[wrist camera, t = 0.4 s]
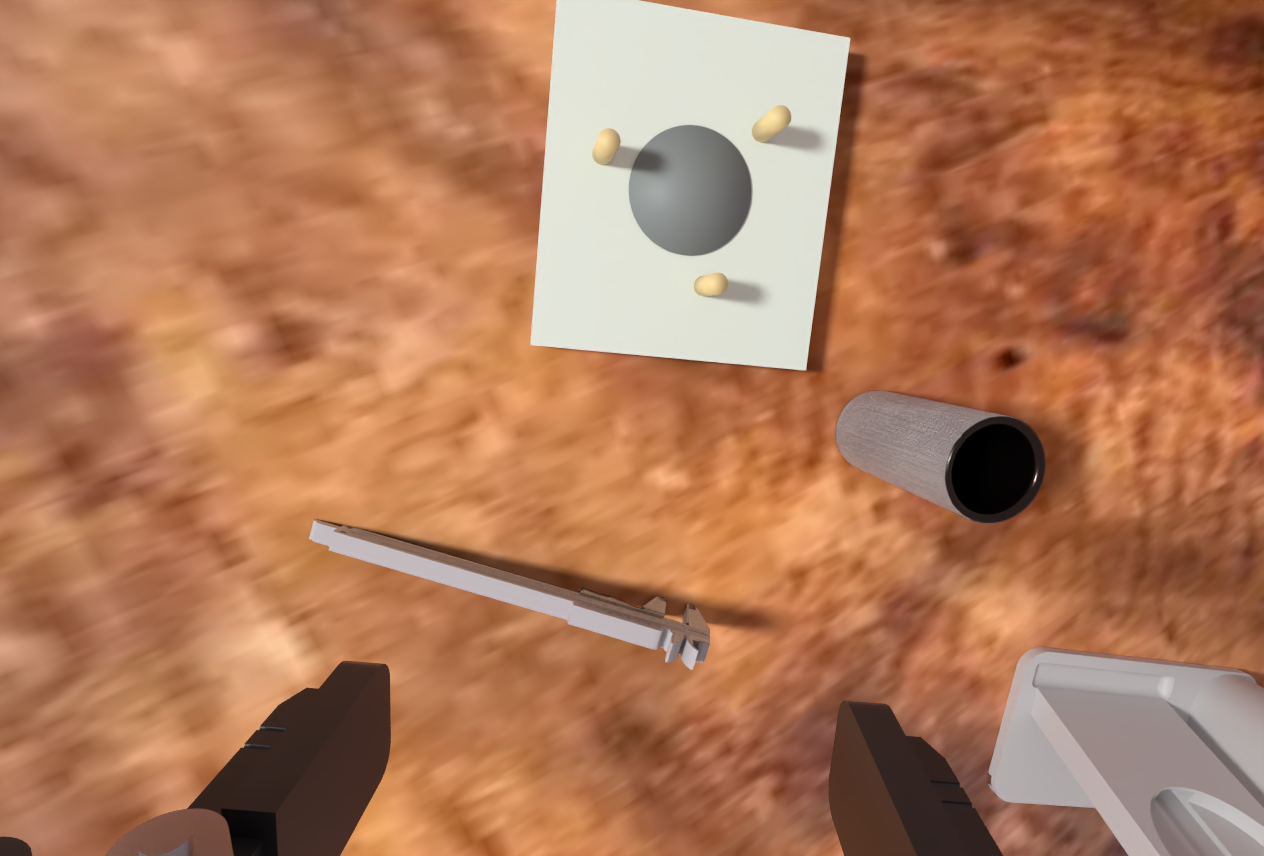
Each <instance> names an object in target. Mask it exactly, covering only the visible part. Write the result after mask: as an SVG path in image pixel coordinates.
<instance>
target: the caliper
mask: <svg viewBox="0 0 1264 856" xmlns="http://www.w3.org/2000/svg"><path fill="white" fill-rule="evenodd" d="M309 539H311V540H312V541H313V542H317V543H320V544H323V545H327V546H329V550H330V551H333V552H337V553H340V554H343V555H347V556H350V557H354V558H357V559H360V560H364V561H367V562H370V563H374V564H377V565H381V566H384V567H387V568H391V569H394V570H398V571H401V572H404V573H408V574H411V575H415V576H418V577H422V578H425V579H428V580H432V581H435V582H439V583H442V584H446V585H449V586H452V587H456V588H459V589H463V590H466V591H469V592H473V593H476V594H480V595H483V596H487V597H490V598H493V599H497V600H500V601H504V602H507V603H511V604H514V605H517V606H521V607H524V608H528V609H531V610H535V611H538V612H541V613H545V614H548V615H552V616H555V617H559V618H562V619H565V620H568V621H567V622H568V624H570V625H573V626H577V627H580V628H583V629H587V630H590V631H593V632H597V633H600V634H604V635H607V636H610V637H614V638H617V639H620V640H624V641H627V642H630V643H634V644H637V645H640V646H644V647H647V648H650V649H654V650H657V649H658V647H661V648H664V650H665V651H666V652H667V653H666V657H665V662H667V663H669V662H671V661H673V660H675V659H676V658H677V657H678V654H681V659H682V661H683V662H684V664H685V665H686V666H687V667H688V668H689V669H691V670H693V667H694V664H695V661H698V662H701V663H704V660H705V657H706V654H707V651H708V648H709V644H710V629H709V627H708V625H707V624H706V622H705V620H704V618H703V617H702V615H701V613H700V612H699V610H698V609H697V607H695V606H693V605H691V604H688V603H687V606H686V609H685V613H684V616H683V619H682V623H680V622H677V621H674V620H670V619H667V618H664V615H665V610H666V602H665V598H662V597H658V596H656V597H655V598H653V599H652V600H651V601H649V602H648V603H647V604H646V605H644V606H643V607H642V608H639V607H635V606H632V605H628V604H627V603H625V602H623V601H621V600H618V599H616V598H613V597H611V596H608V595H603V594H598V593H595V592H593V591H590V590H588V589H585V588H580V589H579V591H578V592H575V591H572V590H568V589H565V588H562V587H558V586H555V585H551V584H548V583H544V582H541V581H538V580H534V579H531V578H527V577H524V576H520V575H517V574H514V573H510V572H507V571H503V570H500V569H496V568H493V567H490V566H486V565H483V564H479V563H476V562H472V561H469V560H466V559H462V558H459V557H456V556H452V555H449V554H445V553H442V552H439V551H435V550H432V549H428V548H425V547H422V546H418V545H415V544H412V543H408V542H405V541H401V540H398V539H395V538H391V537H388V536H384V535H381V534H378V533H374V532H370V531H366V530H361V529H357V528H353V527H348V526H344V525H343V526H337V525H334V524H331V523H328V522H324V521H320V520H315V519H314V521H313V525H312V529H311V533H310V537H309Z"/></svg>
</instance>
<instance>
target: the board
mask: <svg viewBox="0 0 1264 856" xmlns="http://www.w3.org/2000/svg"><path fill="white" fill-rule="evenodd" d="M849 44H850V38H848V37H842V36H836V35H831V34H825V33H819V32H814V31H808V30H802V29H797V28H791V27H785V26H780V25H774V24H769V23H763V22H757V21H752V20H746V19H740V18H735V17H729V16H723V15H718V14H712V13H707V12H701V11H695V10H690V9H684V8H678V7H673V6H667V5H661V4H656V3H650V2H644V1H639V0H557V3H556V16H555V29H554V42H553V55H552V68H551V81H550V94H549V107H548V120H547V134H546V147H545V160H544V173H543V186H542V199H541V212H540V225H539V238H538V251H537V265H536V278H535V291H534V304H533V317H532V330H531V343H530V344H531V345H536V346H546V347H557V348H568V349H579V350H590V351H600V352H611V353H622V354H633V355H644V356H654V357H665V358H676V359H687V360H698V361H709V362H719V363H730V364H741V365H752V366H763V367H773V368H784V369H795V370H806V366H807V359H808V351H809V344H810V336H811V329H812V321H813V314H814V306H815V299H816V291H817V284H818V276H819V269H820V261H821V254H822V246H823V239H824V231H825V224H826V216H827V209H828V201H829V194H830V186H831V179H832V172H833V164H834V157H835V149H836V142H837V134H838V127H839V119H840V112H841V104H842V97H843V89H844V82H845V74H846V67H847V59H848V52H849Z"/></svg>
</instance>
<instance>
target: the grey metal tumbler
mask: <svg viewBox="0 0 1264 856" xmlns="http://www.w3.org/2000/svg"><path fill="white" fill-rule="evenodd" d="M836 441H837V445H838V448H839V451H840V453H841V454H842V456H843V457H844V458H845V460H846V461H847V462H849V463H850V464H851V465H853V466H854V467H856V468H858V469H859V470H862V471H864V472H866V473H868V474H870V475H873V476H875V477H877V478H879V479H881V480H883V481H886V482H888V483H890V484H892V485H894V486H897V487H899V488H901V489H903V490H905V491H908V492H910V493H912V494H914V495H916V496H919V497H921V498H923V499H925V500H927V501H930V502H932V503H934V504H936V505H938V506H940V507H943V508H945V509H947V510H949V511H951V512H954V513H956V514H958V515H960V516H962V517H965V518H967V519H969V520H972V521H974V522H978V523H985V524H992V523H999V522H1003V521H1006V520H1008V519H1011V518H1013V517H1014V516H1016V515H1018V514H1019V513H1021V512H1022V511H1023V510H1024V509H1025V508H1026V507H1027V506H1028V505H1029V504H1030V503H1031V502H1032V501H1033V499H1034V498H1035V496H1036V495H1037V493H1038V491H1039V489H1040V487H1041V485H1042V482H1043V479H1044V474H1045V453H1044V449H1043V445H1042V443H1041V441H1040V439H1039V437H1038V435H1037V434H1036V433H1035V431H1034V430H1033V429H1032V428H1031V427H1030V426H1029V425H1027V424H1026V423H1025V422H1023V421H1021V420H1019V419H1017V418H1014V417H1011V416H1006V415H1001V414H997V413H992V412H987V411H982V410H977V409H972V408H967V407H962V406H957V405H953V404H948V403H943V402H938V401H933V400H928V399H923V398H918V397H913V396H909V395H904V394H899V393H894V392H889V391H880V390H874V391H868V392H865V393H862V394H860V395H858V396H856V397H855V398H854V399H852V400H851V401H850V402H849V403H848V404H847V405H846V406H845V408H844V409H843V411H842V412H841V414H840V416H839V419H838V422H837V426H836Z"/></svg>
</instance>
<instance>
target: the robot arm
mask: <svg viewBox="0 0 1264 856" xmlns="http://www.w3.org/2000/svg"><path fill="white" fill-rule="evenodd" d="M390 743H391V727H390V673H389V668H388V666H387V665H386V664H379V663H366V662H353V661H343V662H341V663H340V664H339V665H338V666H337V667H336V669H335V670H334V671H333V672H332V673H331V675H330V676H329V677H328V678H327V680H326V681H325V682H324V683H323V684H322V686H321V687H320V688H319V689H315V688H306V689H304V690H302V691H301V692H299V693H297V694H296V695H294V696H293V697H291V698H289V699H288V700H286V701H284V702H283V703H281V704H280V705H278V707H277V708H276V709H275V710H274V711H273V712H272V713H271V714H270V716H269V717H268V718H267V719H266V720H265V721H264V722H263V724H262V725H261V726H260V730H256V731H255V733H254V734H253V735H252V736H251V737H250V738H249V739H248V740H247V742H246V743H245V746H244V748H240V750H239V751H238V752H237V753H236V754H235V755H234V756H233V757H232V759H231V760H230V761H229V762H228V763H227V764H226V765H225V767H224V768H223V769H222V770H221V771H220V772H219V773H218V774H217V776H216V777H215V778H214V779H213V780H212V781H211V782H210V784H209V785H208V786H207V787H206V788H205V789H204V790H203V791H202V793H201V794H200V795H199V796H198V797H197V798H196V799H195V801H194V802H193V803H192V804H191V805H190V806H189V807H188V808H187V809H183V810H177V811H173V812H169V813H166V814H163V815H160V816H157V817H155V818H153V819H150V820H148V821H146V822H144V823H142V824H141V825H139V826H137V827H135V828H134V829H132V830H131V831H130V832H128V833H127V834H125V835H124V836H123V837H122V838H121V839H119V840H118V841H117V842H116V843H115V844H114V845H113V846H112V848H111V849H110V850H109V851H108V853H107V854H106V856H340V855H341V853H342V851H343V849H344V847H345V846H346V844H347V842H348V840H349V838H350V836H351V835H352V833H353V831H354V829H355V827H356V826H357V824H358V822H359V820H360V818H361V816H362V815H363V813H364V811H365V809H366V807H367V805H368V804H369V802H370V800H371V798H372V796H373V794H374V793H375V791H376V789H377V787H378V785H379V783H380V782H381V780H382V777H383V775H384V772H385V769H386V766H387V762H388V758H389V752H390ZM829 803H830V810H831V815H832V819H833V822H834V825H835V828H836V831H837V834H838V837H839V840H840V844H841V847H842V850H843V853H844V856H1003V855H1002V853H1001V851H1000V850H999V848H998V846H997V845H996V843H995V841H994V840H993V838H992V836H991V835H990V833H989V831H988V830H987V828H986V826H985V825H984V823H983V821H982V820H981V818H980V816H979V815H978V813H977V811H976V810H975V808H972V803H971V801H970V799H969V798H968V796H967V794H966V793H965V791H964V789H963V788H960V783H959V781H958V779H957V778H956V776H955V774H954V773H953V771H952V769H951V768H950V766H949V764H948V763H947V761H946V759H945V758H944V757H943V756H941V755H940V754H939V753H938V752H937V751H936V750H935V749H933V748H932V747H931V746H930V745H929V744H928V743H927V742H925V741H924V740H923V739H922V738H921V737H912V736H905V734H904V732H903V730H902V728H901V726H900V724H899V723H898V721H897V719H896V717H895V715H894V713H893V712H892V710H891V708H890V707H889V706H888V705H887V704H881V703H868V702H855V701H843V702H842V703H841V705H840V708H839V712H838V719H837V726H836V733H835V740H834V747H833V754H832V761H831V768H830V775H829ZM0 856H32V852H31V848H30V847H29V846H28V844H27V843H25V842H24V841H22V840H20V839H17V838H12V837H0Z"/></svg>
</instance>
